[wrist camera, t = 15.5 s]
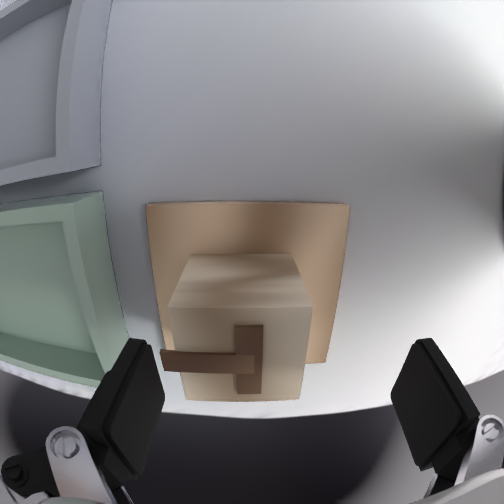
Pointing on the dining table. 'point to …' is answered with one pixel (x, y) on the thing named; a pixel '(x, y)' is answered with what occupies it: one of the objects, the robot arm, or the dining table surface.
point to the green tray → (59, 288)
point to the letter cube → (239, 328)
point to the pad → (253, 249)
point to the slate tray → (50, 86)
